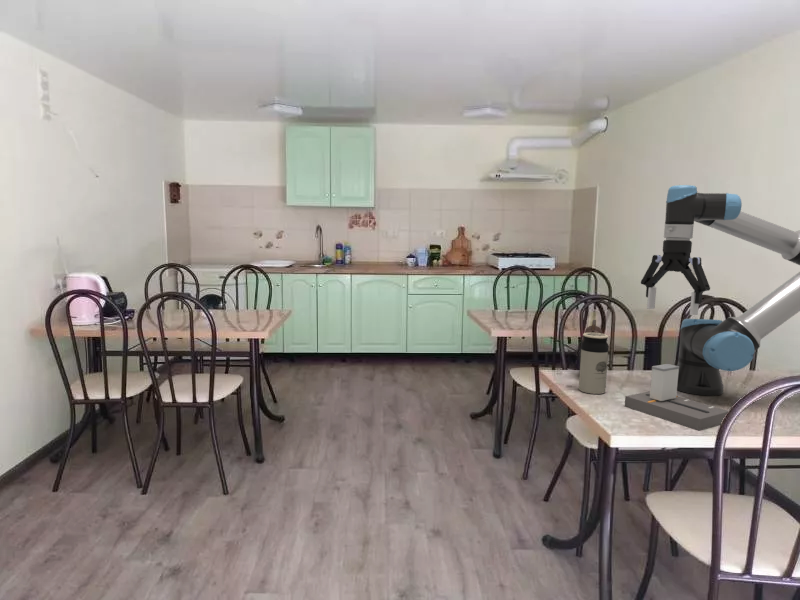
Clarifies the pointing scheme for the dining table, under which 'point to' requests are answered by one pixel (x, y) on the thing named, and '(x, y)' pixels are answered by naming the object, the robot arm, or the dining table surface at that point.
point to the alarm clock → (591, 331)
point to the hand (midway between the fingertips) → (671, 311)
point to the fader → (664, 382)
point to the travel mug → (593, 363)
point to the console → (678, 410)
